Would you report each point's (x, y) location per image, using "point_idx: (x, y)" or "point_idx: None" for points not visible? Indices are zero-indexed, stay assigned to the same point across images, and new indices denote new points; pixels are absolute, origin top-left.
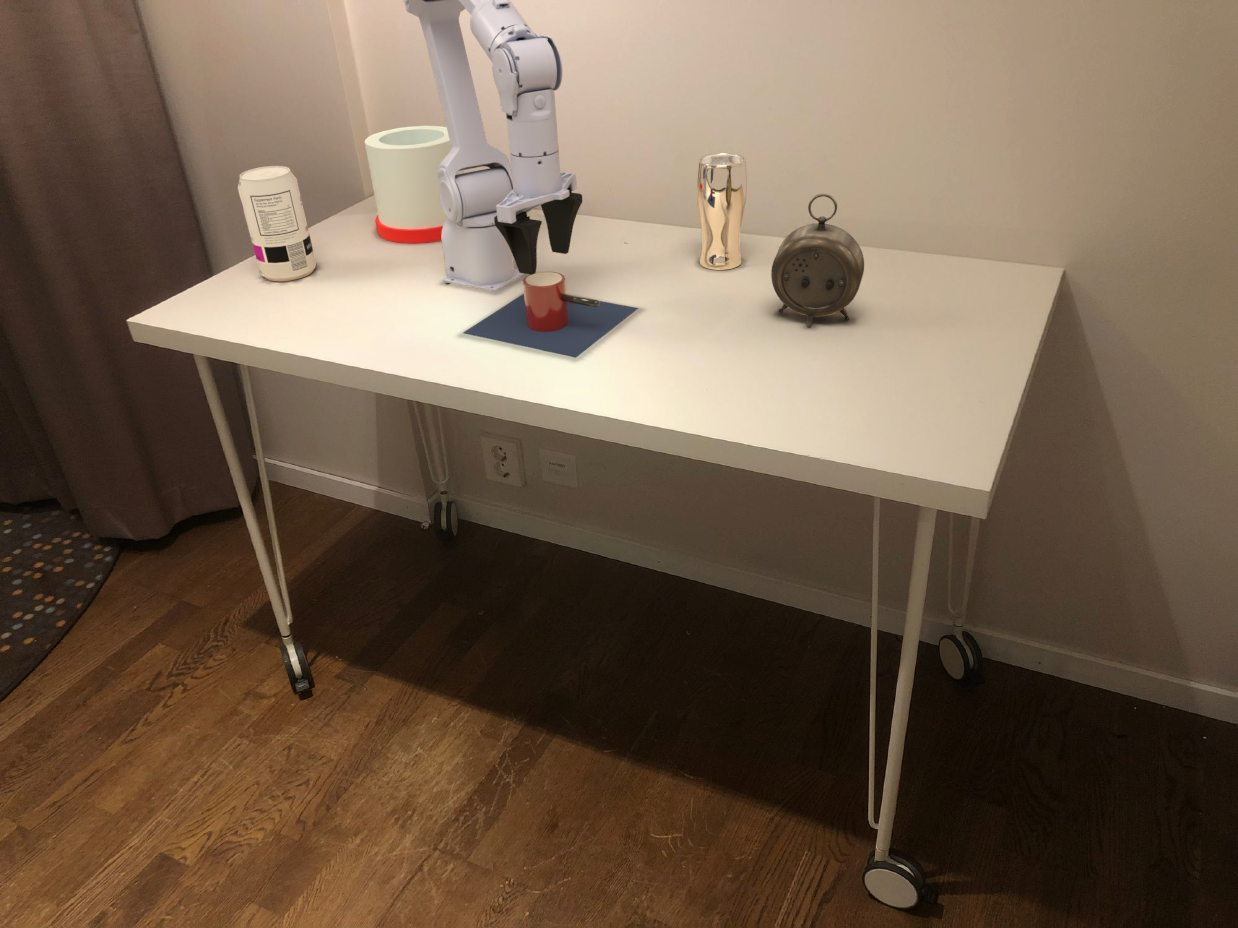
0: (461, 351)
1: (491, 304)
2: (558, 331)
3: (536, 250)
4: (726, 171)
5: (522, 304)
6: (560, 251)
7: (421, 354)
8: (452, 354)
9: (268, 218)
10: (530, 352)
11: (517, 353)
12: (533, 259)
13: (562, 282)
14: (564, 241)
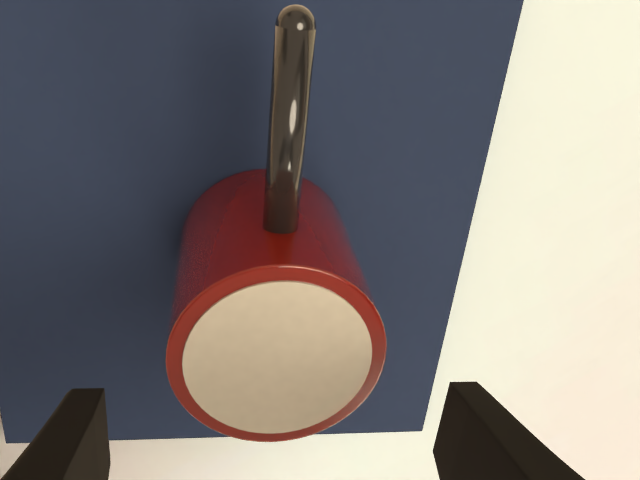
0: (523, 372)
1: (182, 476)
2: (321, 172)
3: (526, 476)
4: None
5: (152, 399)
6: (103, 428)
7: (557, 444)
8: (545, 382)
9: None
10: (491, 186)
11: (506, 221)
12: (534, 438)
13: (282, 264)
14: (82, 458)
